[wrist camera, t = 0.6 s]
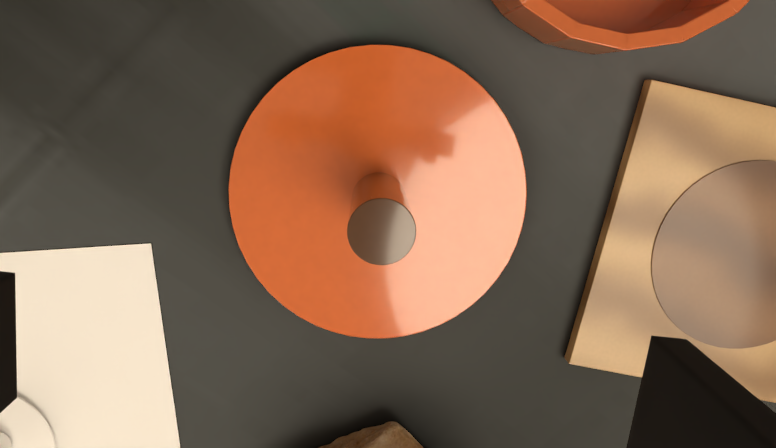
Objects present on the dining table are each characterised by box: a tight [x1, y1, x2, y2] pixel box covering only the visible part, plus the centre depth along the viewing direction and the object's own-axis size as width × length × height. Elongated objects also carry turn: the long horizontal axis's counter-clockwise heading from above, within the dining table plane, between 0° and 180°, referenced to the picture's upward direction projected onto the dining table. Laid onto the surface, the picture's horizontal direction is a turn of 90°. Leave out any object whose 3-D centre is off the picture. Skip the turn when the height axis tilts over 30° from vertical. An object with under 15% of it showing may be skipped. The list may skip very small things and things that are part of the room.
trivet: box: [565, 80, 776, 403], centre depth 40 cm, size 18×18×1 cm
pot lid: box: [228, 45, 527, 338], centre depth 34 cm, size 18×18×10 cm
